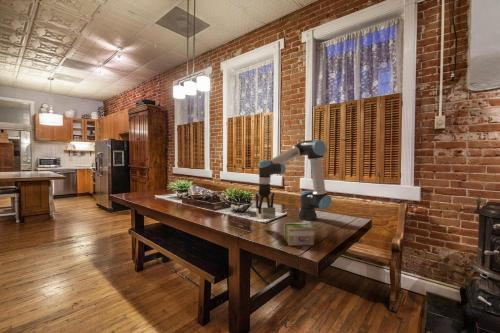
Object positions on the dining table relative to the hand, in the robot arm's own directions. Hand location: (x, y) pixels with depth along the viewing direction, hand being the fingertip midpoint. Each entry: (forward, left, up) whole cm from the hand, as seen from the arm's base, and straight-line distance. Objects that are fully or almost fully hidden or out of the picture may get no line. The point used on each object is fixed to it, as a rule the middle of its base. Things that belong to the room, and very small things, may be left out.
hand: (264, 218), depth 167 cm
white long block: (-1, 0, 0) cm, 1 cm away
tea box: (+13, +16, -5) cm, 22 cm away
